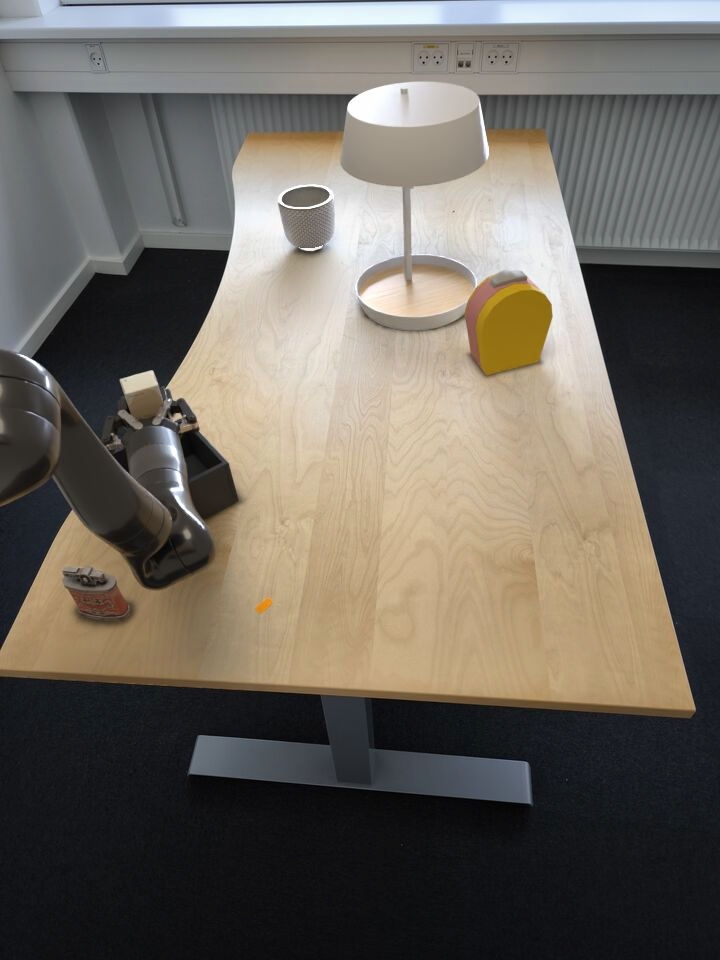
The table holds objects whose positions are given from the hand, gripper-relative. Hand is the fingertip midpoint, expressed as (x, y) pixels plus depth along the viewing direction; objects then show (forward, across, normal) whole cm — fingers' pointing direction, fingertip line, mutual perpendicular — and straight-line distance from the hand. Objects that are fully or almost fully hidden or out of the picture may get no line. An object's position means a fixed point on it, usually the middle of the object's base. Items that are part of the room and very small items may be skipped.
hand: (144, 396), depth 112 cm
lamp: (+42, -60, +21) cm, 77 cm away
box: (-3, 0, +7) cm, 7 cm away
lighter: (-20, +14, +22) cm, 33 cm away
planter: (+78, -46, +21) cm, 93 cm away
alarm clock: (+14, -69, +22) cm, 73 cm away
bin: (0, 0, +22) cm, 22 cm away
